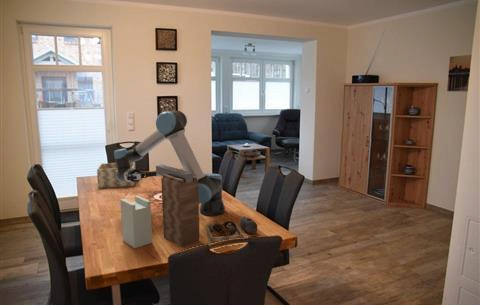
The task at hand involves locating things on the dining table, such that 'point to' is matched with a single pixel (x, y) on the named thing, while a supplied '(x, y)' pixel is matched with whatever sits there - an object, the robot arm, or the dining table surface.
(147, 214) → the slotted cradle
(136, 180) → the robot arm
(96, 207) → the dining table surface
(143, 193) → the dining table surface
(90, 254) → the dining table surface
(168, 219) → the walnut stand
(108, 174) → the zigzag patterned box
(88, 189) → the dining table surface
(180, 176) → the bar
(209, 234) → the coaster tray
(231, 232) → the pottery mug
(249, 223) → the perforated stone tool
